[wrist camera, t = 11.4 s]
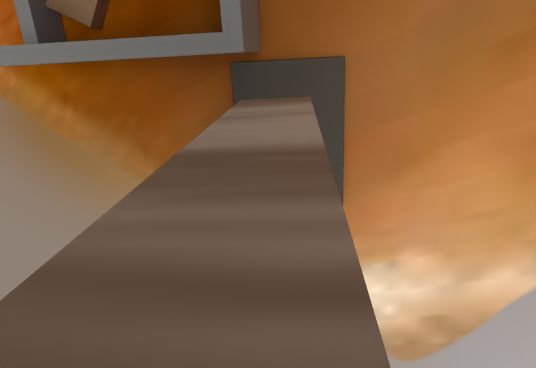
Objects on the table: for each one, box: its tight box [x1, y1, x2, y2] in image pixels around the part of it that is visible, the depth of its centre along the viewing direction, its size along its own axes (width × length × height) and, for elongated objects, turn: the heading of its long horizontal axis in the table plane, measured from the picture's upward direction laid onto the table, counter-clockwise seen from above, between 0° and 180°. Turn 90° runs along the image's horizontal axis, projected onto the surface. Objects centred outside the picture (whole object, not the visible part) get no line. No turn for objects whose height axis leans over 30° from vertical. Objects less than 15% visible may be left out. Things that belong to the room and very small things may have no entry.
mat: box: [230, 57, 345, 206], centre depth 35 cm, size 14×10×1 cm
